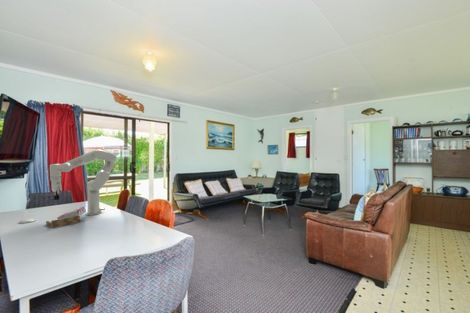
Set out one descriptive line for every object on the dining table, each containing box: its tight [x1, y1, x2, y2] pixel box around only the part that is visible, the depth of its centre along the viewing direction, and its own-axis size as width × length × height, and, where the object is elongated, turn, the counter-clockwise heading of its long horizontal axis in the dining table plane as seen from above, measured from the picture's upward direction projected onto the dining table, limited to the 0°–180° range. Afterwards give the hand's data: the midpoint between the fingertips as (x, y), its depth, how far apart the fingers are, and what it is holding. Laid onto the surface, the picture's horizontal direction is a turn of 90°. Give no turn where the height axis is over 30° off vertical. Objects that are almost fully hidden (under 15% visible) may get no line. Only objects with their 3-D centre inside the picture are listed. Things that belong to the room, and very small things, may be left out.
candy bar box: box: [56, 206, 87, 220], centre depth 191 cm, size 11×5×16 cm
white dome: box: [18, 218, 37, 224], centre depth 188 cm, size 10×10×1 cm
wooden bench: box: [46, 215, 81, 228], centre depth 183 cm, size 18×14×5 cm
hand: (56, 199), depth 196 cm, fingers closed
